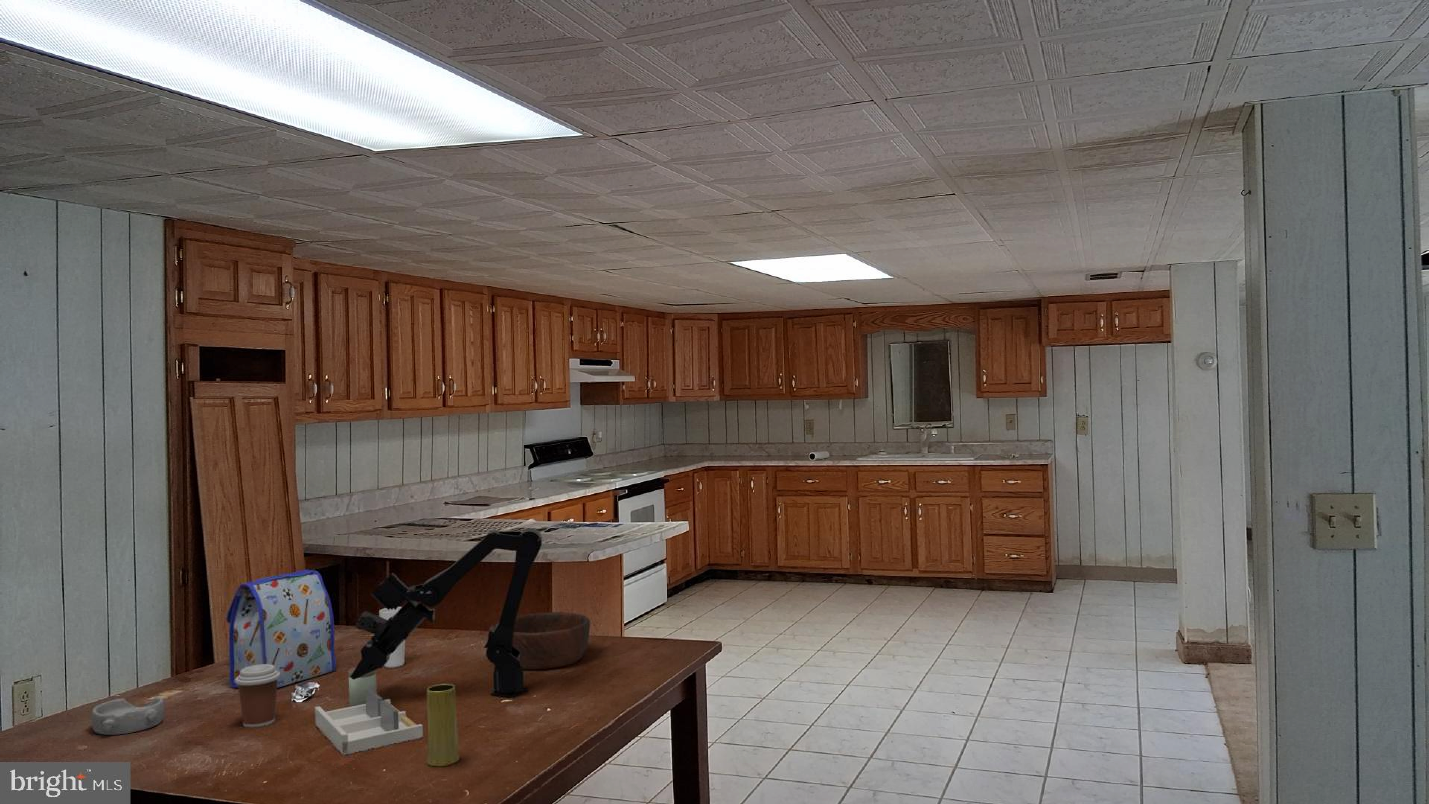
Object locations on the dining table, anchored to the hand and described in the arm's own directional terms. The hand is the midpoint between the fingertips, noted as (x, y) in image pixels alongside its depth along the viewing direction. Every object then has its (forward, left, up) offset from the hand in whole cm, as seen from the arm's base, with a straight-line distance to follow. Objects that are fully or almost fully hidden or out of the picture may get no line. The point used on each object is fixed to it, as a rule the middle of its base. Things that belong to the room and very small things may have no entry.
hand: (356, 673), depth 226 cm
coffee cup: (+10, +18, -7) cm, 22 cm away
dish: (+36, +31, -8) cm, 48 cm away
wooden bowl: (-19, -47, -7) cm, 51 cm away
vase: (-45, +20, -7) cm, 49 cm away
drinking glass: (+16, -28, -7) cm, 33 cm away
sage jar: (-1, -1, -7) cm, 7 cm away
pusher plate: (-14, +8, -6) cm, 17 cm away
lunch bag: (+34, -8, -7) cm, 36 cm away
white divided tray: (-17, +13, -7) cm, 23 cm away
